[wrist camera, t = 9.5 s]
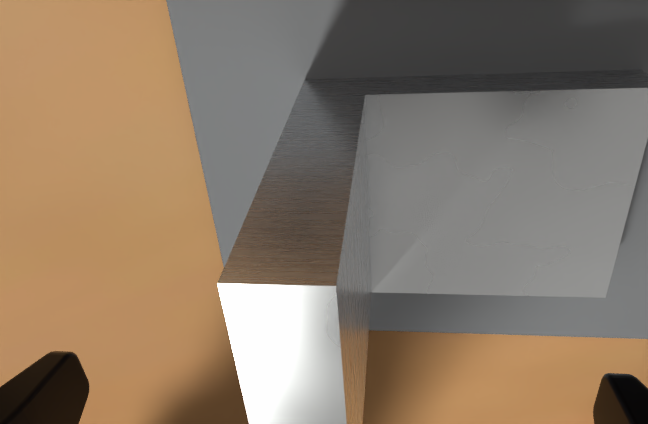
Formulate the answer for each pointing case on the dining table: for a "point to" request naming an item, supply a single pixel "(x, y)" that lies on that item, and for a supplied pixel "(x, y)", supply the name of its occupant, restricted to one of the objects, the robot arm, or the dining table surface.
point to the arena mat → (392, 61)
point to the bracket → (422, 215)
